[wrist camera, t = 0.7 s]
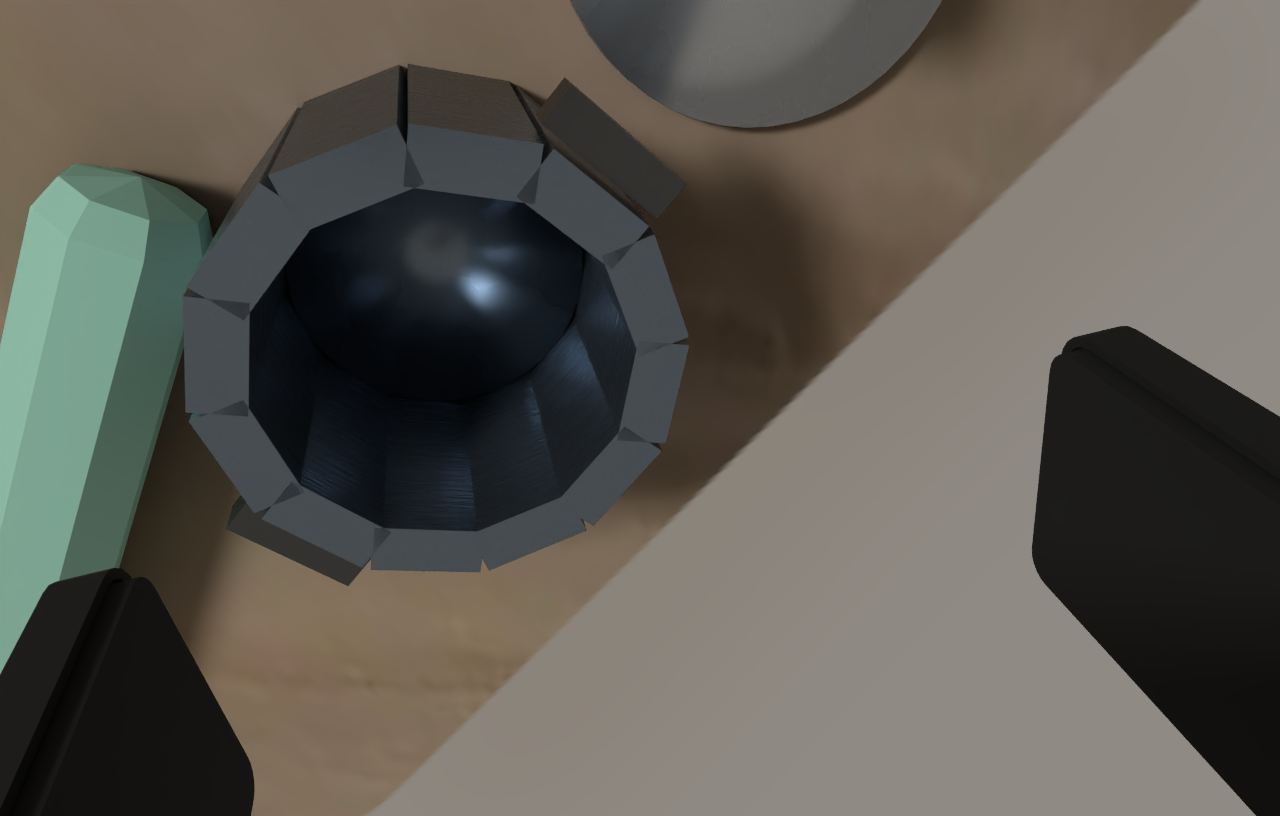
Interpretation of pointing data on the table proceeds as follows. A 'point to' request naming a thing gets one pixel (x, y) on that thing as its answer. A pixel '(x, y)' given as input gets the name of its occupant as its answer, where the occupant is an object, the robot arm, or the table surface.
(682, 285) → the table surface
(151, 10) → the table surface
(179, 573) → the table surface
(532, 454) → the pot
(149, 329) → the mint green octagonal rod
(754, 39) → the lid
